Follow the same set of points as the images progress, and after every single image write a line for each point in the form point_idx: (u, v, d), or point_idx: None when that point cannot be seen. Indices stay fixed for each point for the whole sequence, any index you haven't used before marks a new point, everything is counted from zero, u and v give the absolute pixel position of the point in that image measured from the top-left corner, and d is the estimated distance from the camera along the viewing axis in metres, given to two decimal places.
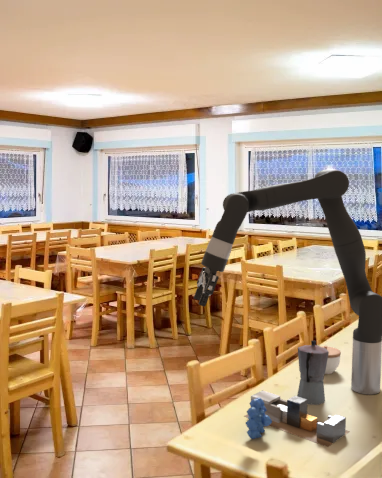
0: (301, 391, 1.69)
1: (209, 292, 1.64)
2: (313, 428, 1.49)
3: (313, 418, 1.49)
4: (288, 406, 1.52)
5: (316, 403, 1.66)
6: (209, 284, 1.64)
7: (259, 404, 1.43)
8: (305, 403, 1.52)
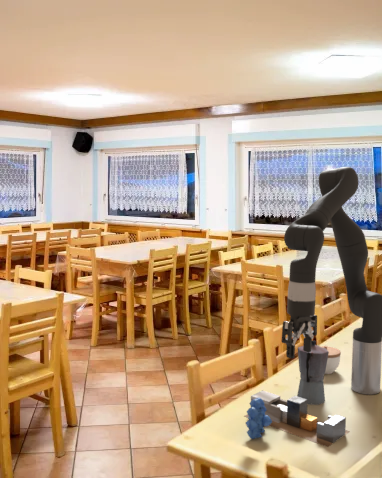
0: (301, 391, 1.69)
1: None
2: (313, 428, 1.49)
3: (313, 418, 1.49)
4: (288, 406, 1.52)
5: (316, 403, 1.66)
6: None
7: (259, 404, 1.43)
8: (305, 403, 1.52)
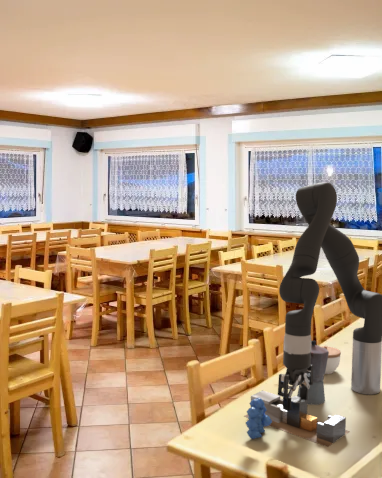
0: None
1: None
2: (313, 428, 1.49)
3: (313, 418, 1.49)
4: None
5: (316, 403, 1.66)
6: None
7: (259, 404, 1.43)
8: (305, 403, 1.52)
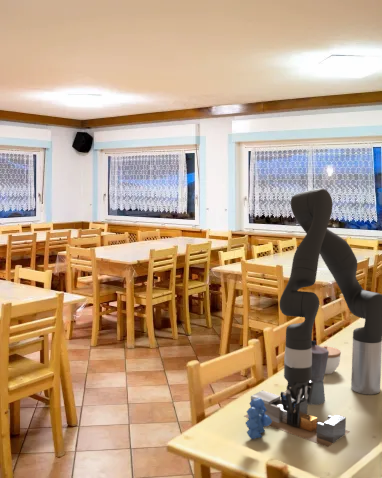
0: None
1: None
2: (313, 428, 1.49)
3: (313, 418, 1.49)
4: None
5: (316, 403, 1.66)
6: None
7: (259, 404, 1.43)
8: (305, 403, 1.52)
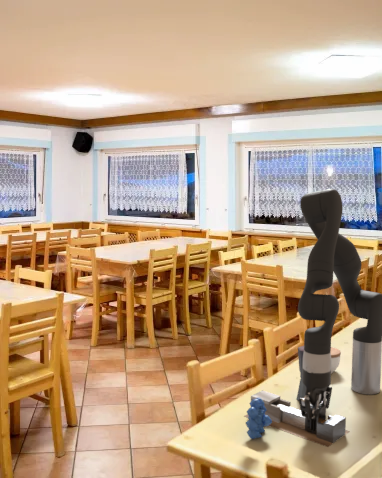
0: (301, 391, 1.69)
1: None
2: None
3: None
4: None
5: None
6: None
7: (259, 404, 1.43)
8: (324, 409, 1.48)
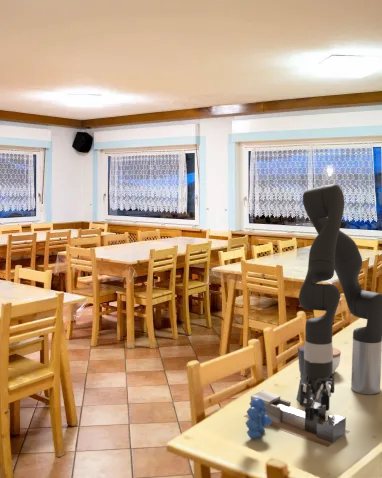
0: None
1: None
2: None
3: None
4: None
5: None
6: None
7: (259, 404, 1.43)
8: (324, 409, 1.48)
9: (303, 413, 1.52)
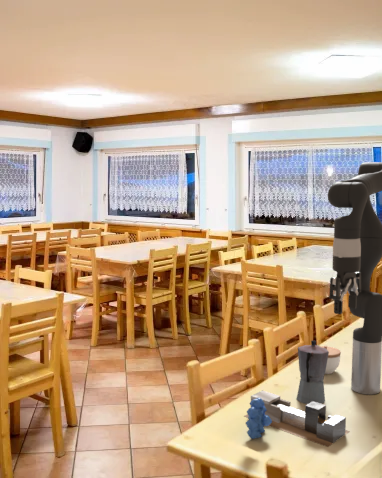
0: (301, 391, 1.69)
1: None
2: None
3: None
4: (306, 412, 1.48)
5: None
6: None
7: (259, 404, 1.43)
8: (324, 409, 1.48)
9: (303, 413, 1.52)
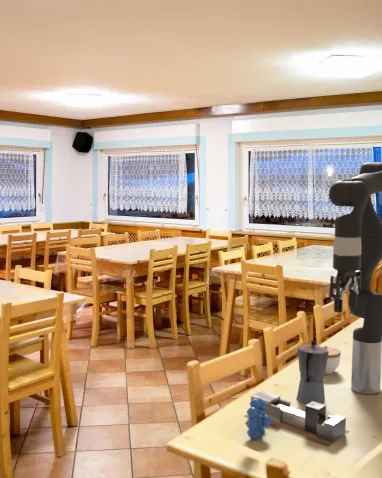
0: (301, 391, 1.69)
1: None
2: None
3: None
4: (306, 412, 1.48)
5: None
6: None
7: (259, 404, 1.43)
8: (324, 409, 1.48)
9: (303, 413, 1.52)
